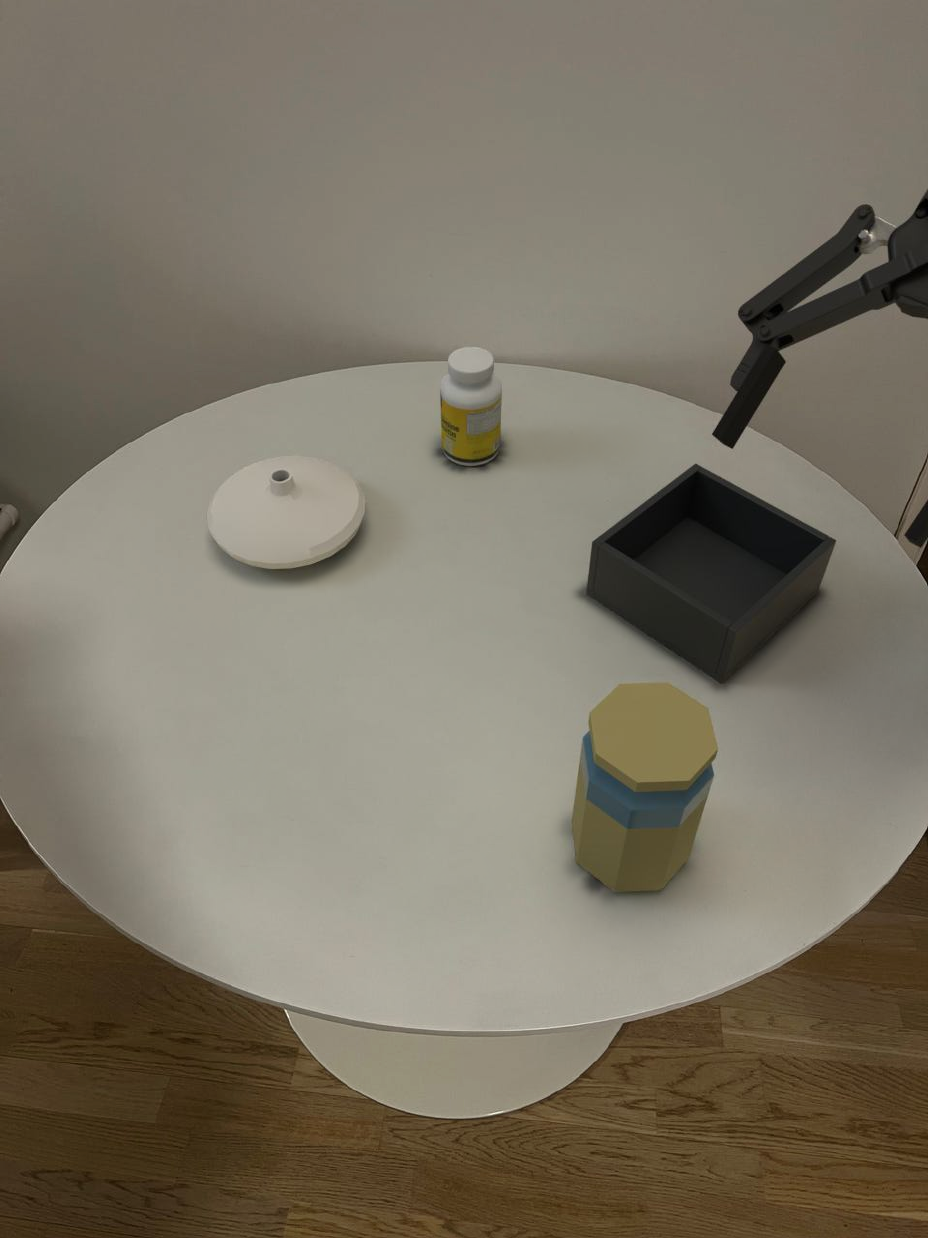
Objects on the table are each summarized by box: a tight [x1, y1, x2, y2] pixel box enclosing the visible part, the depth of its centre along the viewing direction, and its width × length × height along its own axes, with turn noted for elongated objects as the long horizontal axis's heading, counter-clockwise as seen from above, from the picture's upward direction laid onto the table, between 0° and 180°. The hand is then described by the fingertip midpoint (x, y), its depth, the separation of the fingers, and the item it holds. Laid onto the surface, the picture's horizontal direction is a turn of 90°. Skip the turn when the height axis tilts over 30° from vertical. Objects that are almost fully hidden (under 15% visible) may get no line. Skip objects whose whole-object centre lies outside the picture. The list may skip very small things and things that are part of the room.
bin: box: [585, 463, 837, 684], centre depth 93 cm, size 16×16×7 cm
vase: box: [205, 455, 366, 570], centre depth 100 cm, size 16×16×7 cm
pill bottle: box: [439, 346, 503, 467], centre depth 106 cm, size 6×6×12 cm
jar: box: [571, 681, 719, 893], centre depth 72 cm, size 9×9×15 cm
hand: (812, 489), depth 63 cm, fingers open, 13 cm apart
